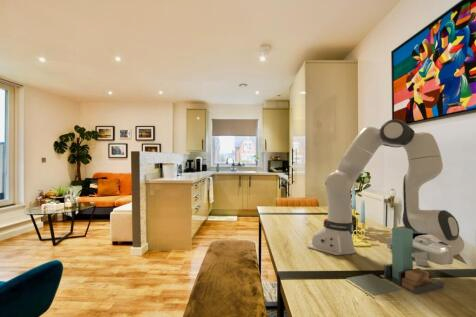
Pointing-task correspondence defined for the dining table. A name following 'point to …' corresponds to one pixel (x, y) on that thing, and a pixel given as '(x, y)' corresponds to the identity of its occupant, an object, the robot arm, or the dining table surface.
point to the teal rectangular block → (401, 250)
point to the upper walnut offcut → (417, 275)
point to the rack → (416, 289)
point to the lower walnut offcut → (411, 284)
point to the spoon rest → (421, 262)
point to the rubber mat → (373, 284)
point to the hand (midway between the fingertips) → (400, 250)
